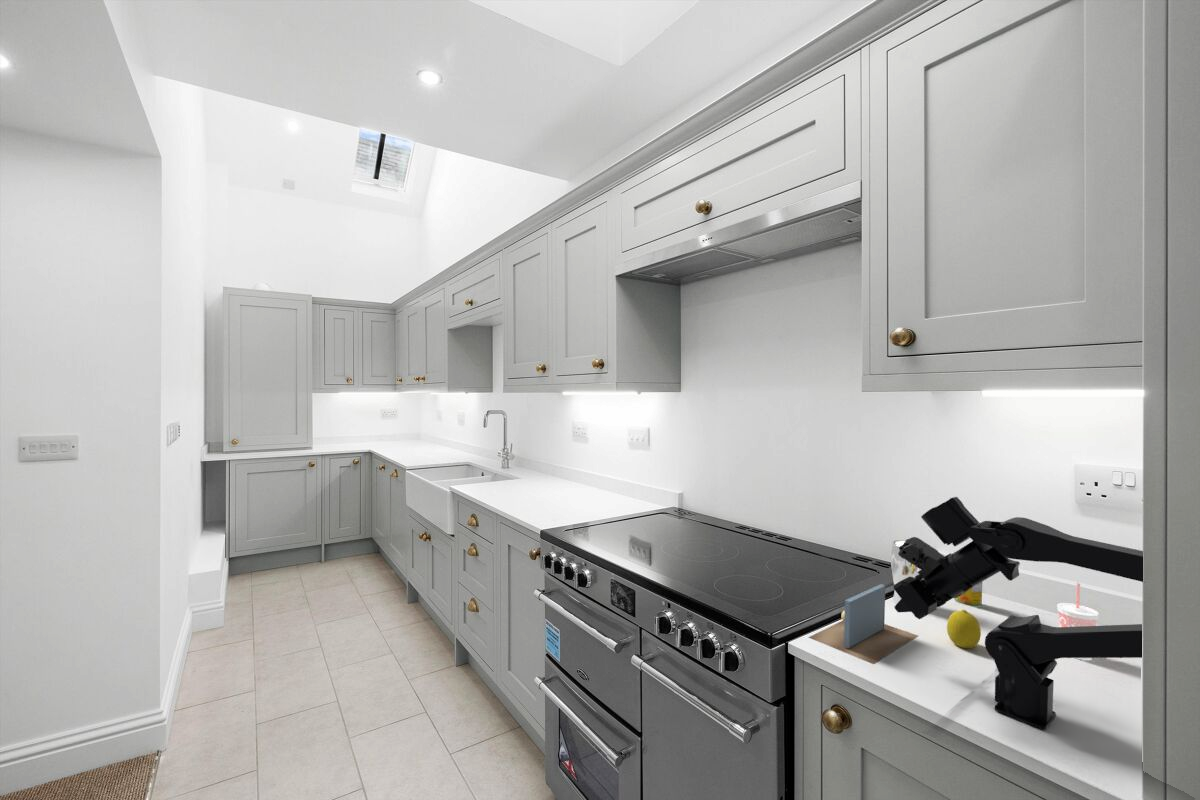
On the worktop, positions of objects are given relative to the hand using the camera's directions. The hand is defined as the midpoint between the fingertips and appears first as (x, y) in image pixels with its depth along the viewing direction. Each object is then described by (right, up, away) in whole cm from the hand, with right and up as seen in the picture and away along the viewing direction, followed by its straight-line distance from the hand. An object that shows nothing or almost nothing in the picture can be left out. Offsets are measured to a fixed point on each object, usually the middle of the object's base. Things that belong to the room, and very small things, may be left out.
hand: (896, 609), depth 102 cm
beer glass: (+17, -10, +26) cm, 32 cm away
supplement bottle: (+33, -10, +28) cm, 44 cm away
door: (-2, -8, +8) cm, 12 cm away
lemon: (+16, -10, +5) cm, 20 cm away
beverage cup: (+37, -11, +4) cm, 39 cm away
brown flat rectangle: (-2, -10, +9) cm, 13 cm away
